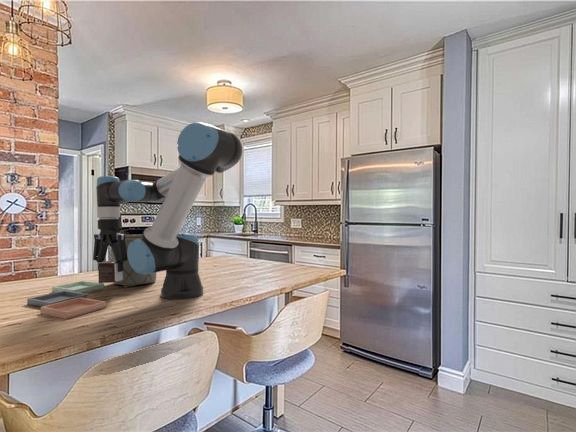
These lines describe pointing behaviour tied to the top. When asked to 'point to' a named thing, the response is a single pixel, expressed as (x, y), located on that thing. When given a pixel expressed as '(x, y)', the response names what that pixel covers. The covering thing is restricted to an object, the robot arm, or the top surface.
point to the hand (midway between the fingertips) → (110, 279)
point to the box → (107, 272)
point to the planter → (128, 273)
